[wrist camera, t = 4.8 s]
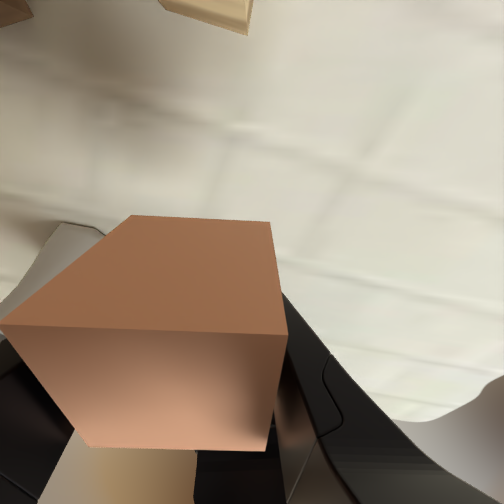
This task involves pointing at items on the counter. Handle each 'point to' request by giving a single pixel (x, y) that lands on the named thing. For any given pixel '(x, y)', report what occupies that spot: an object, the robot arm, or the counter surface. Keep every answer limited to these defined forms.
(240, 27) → the maple block
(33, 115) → the counter surface
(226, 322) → the terracotta block
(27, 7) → the walnut block
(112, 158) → the counter surface
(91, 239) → the flask
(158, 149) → the counter surface
